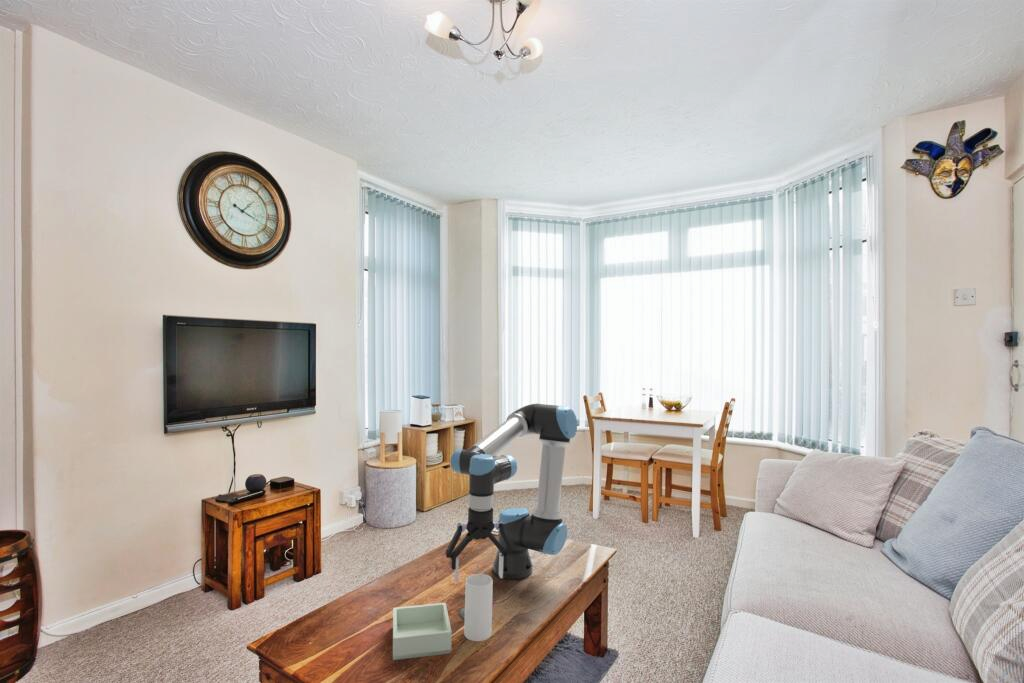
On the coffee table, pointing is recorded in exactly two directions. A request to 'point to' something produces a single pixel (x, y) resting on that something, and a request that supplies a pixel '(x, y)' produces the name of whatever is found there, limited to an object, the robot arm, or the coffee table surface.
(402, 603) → the coffee table surface
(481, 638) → the cup
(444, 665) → the coffee table surface
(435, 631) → the bin
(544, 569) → the coffee table surface
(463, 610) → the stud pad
